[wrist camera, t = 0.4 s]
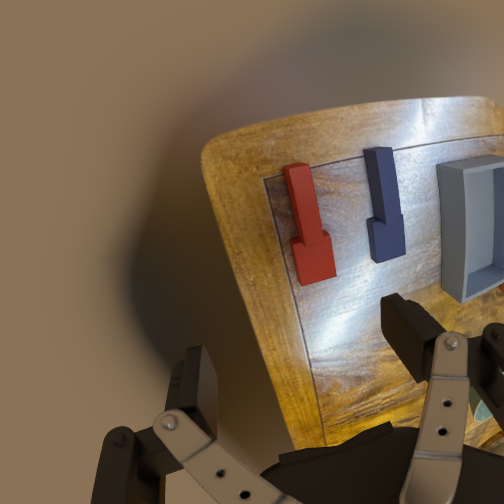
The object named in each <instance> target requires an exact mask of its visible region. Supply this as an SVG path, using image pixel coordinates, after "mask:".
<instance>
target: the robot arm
mask: <svg viewBox="0 0 504 504" xmlns="http://www.w3.org/2000/svg"><path fill="white" fill-rule="evenodd" d="M380 304H381V329H382V333H383V335H384V337H385V339H386V340H387V342H388V343H389V344H390V346H391V347H392V349H393V350H394V351H395V353H396V354H397V355H398V357H399V358H400V360H401V361H402V362H403V364H404V365H405V367H406V368H407V369H408V371H409V372H410V374H411V375H412V377H413V378H414V379H415V381H416V382H417V384H418V383H420V382H422V381H424V380H426V381H427V382H428V387H427V392H426V397H425V402H424V406H423V411H422V415H421V419H420V423H419V427H418V428H415V427H394V428H393V426H392V424H391V423H390V421H388V422H386V423H383V424H380V425H378V426H375V427H373V428H370V429H367V430H364V431H362V432H361V433H359V434H358V435H356V436H354V437H352V438H351V439H349V440H347V441H346V442H344V443H342V444H340V445H338V446H331V447H318V448H305V449H301V450H297V451H293V452H289V453H284V454H280V455H279V461H280V462H279V463H277V464H274V465H273V466H271V467H269V468H268V469H266V470H265V471H263V472H262V473H261V474H260V475H258V474H257V473H256V472H255V471H253V470H252V469H251V468H250V467H248V466H247V465H246V464H245V463H243V462H242V461H241V460H240V459H239V458H237V457H236V456H235V455H234V454H232V453H231V452H230V451H229V450H228V449H227V448H225V447H224V446H223V445H222V444H221V443H220V442H219V441H217V376H216V373H215V370H214V367H213V366H212V363H211V360H210V358H209V356H208V353H207V351H206V349H205V347H204V346H203V345H201V346H196V347H191V348H187V349H186V353H185V359H184V360H182V361H178V362H177V363H176V365H175V366H174V368H173V369H172V373H171V380H170V383H169V388H168V394H167V399H166V406H165V411H164V412H162V413H161V414H159V415H158V416H157V417H156V418H155V420H154V422H153V426H152V427H149V428H147V429H144V430H141V431H138V432H135V433H134V432H133V431H132V430H131V429H130V428H128V427H125V426H120V427H116V428H114V429H112V430H111V431H109V432H108V434H107V435H106V436H105V438H104V441H103V446H102V450H101V454H100V459H99V463H98V468H97V473H96V478H95V483H94V488H93V493H92V499H91V504H165V482H166V475H167V474H170V473H173V472H176V471H178V470H181V469H184V468H185V469H186V471H187V472H188V473H189V474H190V475H191V476H192V477H193V478H194V479H195V480H196V482H197V483H198V484H199V485H200V486H201V487H202V488H203V489H204V490H205V491H206V492H207V493H208V494H209V495H210V496H211V497H212V498H213V499H214V500H215V501H216V502H217V503H218V504H504V456H501V455H498V454H494V453H491V452H487V451H484V450H481V449H478V448H474V447H471V446H468V445H465V444H463V442H464V436H465V429H466V421H467V412H468V401H469V387H473V388H474V389H475V390H476V392H477V393H478V395H479V396H480V398H481V399H482V400H483V402H484V403H485V405H486V406H487V408H488V409H489V411H490V412H491V414H492V415H493V416H494V418H495V420H496V421H497V423H498V424H499V426H500V427H501V429H502V430H503V432H504V375H503V373H502V372H501V371H500V370H502V371H503V372H504V324H502V323H490V324H488V325H487V326H485V328H484V330H483V334H482V336H477V337H472V338H466V337H465V336H464V335H462V334H461V333H458V332H454V331H449V332H447V331H446V330H445V329H444V328H443V327H442V326H441V325H440V324H439V323H438V322H437V321H436V320H435V319H434V318H433V317H432V316H430V314H429V313H428V312H427V311H425V309H424V308H423V307H422V306H421V305H420V304H419V303H416V302H414V301H412V300H406V301H405V300H404V299H403V298H402V297H401V296H400V295H399V294H398V293H394V294H391V295H388V296H385V297H382V298H381V301H380Z"/></svg>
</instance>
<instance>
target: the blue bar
mask: <svg viewBox="0 0 504 504" xmlns="http://www.w3.org/2000/svg"><path fill="white" fill-rule="evenodd" d="M363 151H364V156H365V162H366V167H367V173H368V178H369V184H370V191H371V197H372V204H373V211H374V218H370V219H367V226H368V233H369V242H370V251H371V259H372V260H373V261H374V262H375V263H377V264H378V263H381V262H384V261H387V260H390V259H393V258H396V257H399V256H403V255H405V254H406V249H405V234H404V221H403V214H401V207H400V199H399V190H398V183H397V176H396V169H395V163H394V157H393V151H392V148H391V147H374V148H368V149H363Z"/></svg>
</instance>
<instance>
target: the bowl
mask: <svg viewBox="0 0 504 504" xmlns="http://www.w3.org/2000/svg"><path fill="white" fill-rule="evenodd" d="M500 371H501V372H502V373H503V375H504V372H503V371H502V370H500ZM469 403H470V407H471V410H472V414H473V418H474V420H475V421H476V422H483V421H485V420H487V419H489V418H491V417H493V415H492V414H491V412H490V411H489V409H488V408H487V406H486V405H485V403H484V402H483V400H482V399H481V398H480V396H479V395H478V393H477V392H476V390H475V389H474V388H473V387H469Z"/></svg>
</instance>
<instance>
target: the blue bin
mask: <svg viewBox="0 0 504 504" xmlns="http://www.w3.org/2000/svg"><path fill="white" fill-rule="evenodd" d="M437 172H438V181H439V192H440V205H441V224H442V280H441V288H442V289H443V290H444V291H446V292H447V293H448V294H449V295H451V296H452V297H453V298H454V299H456V300H457V301H458V302H459V303H461V304H463V303H466V302H468V301H470V300H472V299H474V298H476V297H478V296H479V295H481V294H483V293H485V292H487V291H489V290H491V289H493V288H495V287H497V286H498V285H500V284H502V283H504V157H502V156H496V155H488V156H482V157H476V158H470V159H465V160H459V161H454V162H448V163H443V164H438V165H437Z"/></svg>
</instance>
